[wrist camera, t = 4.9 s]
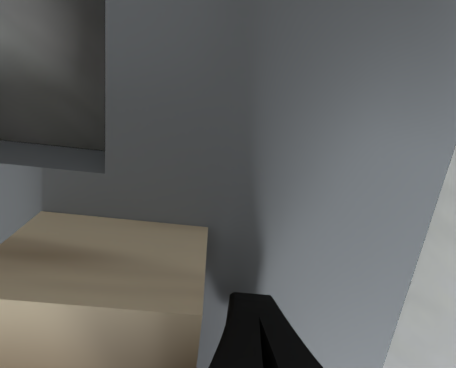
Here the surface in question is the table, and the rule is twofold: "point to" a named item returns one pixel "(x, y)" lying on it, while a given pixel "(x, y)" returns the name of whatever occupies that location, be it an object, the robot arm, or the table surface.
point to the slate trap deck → (270, 153)
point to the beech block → (101, 293)
